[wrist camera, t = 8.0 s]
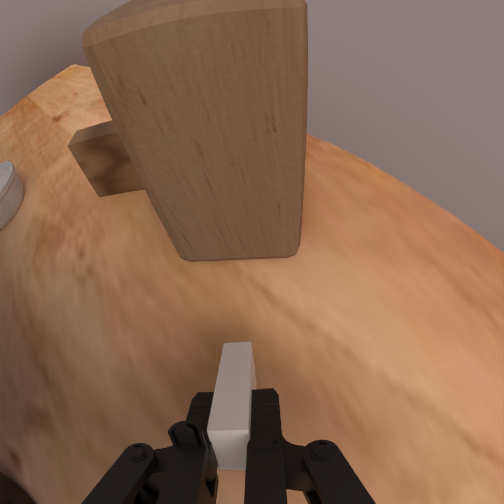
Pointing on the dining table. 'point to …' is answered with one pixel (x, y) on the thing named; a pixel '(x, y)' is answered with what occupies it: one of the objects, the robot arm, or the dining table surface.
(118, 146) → the board
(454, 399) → the dining table surface
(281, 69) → the block
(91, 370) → the dining table surface
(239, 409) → the robot arm
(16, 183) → the ramekin
